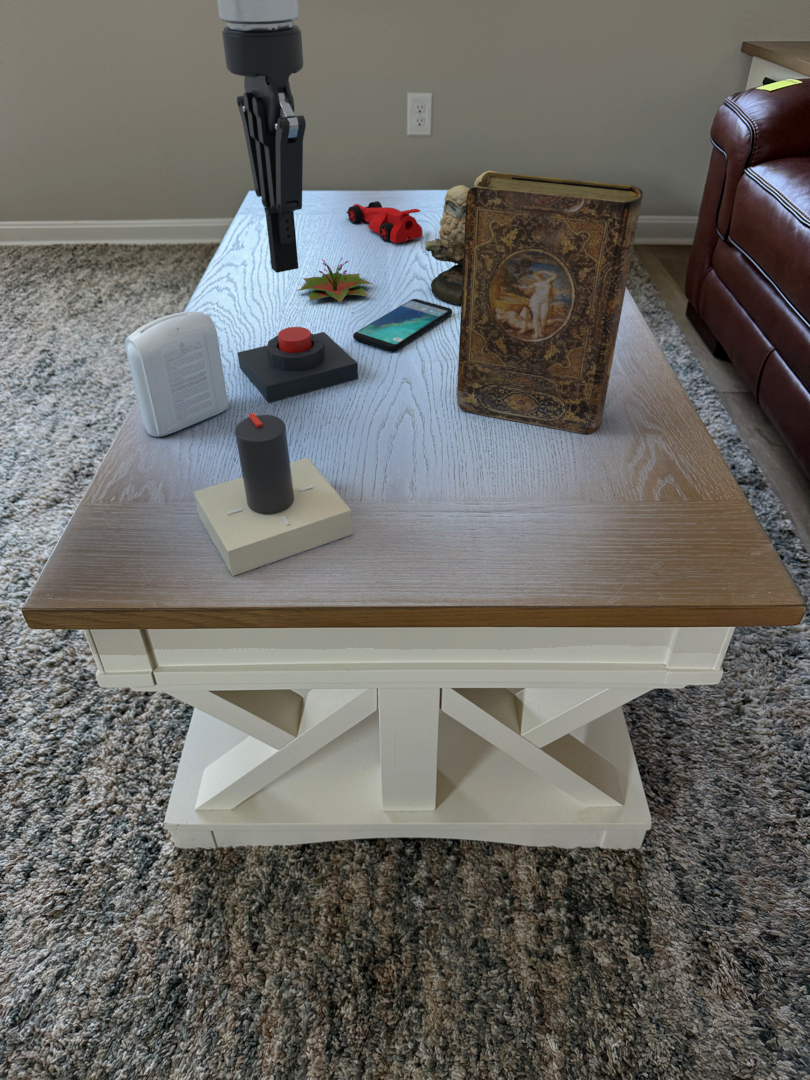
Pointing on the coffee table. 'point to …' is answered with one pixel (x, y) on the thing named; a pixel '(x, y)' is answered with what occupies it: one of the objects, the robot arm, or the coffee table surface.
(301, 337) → the power button
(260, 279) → the coffee table surface
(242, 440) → the dial
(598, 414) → the book
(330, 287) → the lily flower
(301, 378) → the power box
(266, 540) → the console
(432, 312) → the smartphone
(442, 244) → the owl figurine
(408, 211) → the toy car
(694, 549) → the coffee table surface
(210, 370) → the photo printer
